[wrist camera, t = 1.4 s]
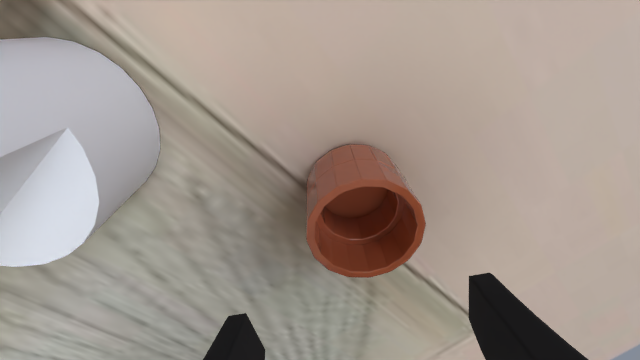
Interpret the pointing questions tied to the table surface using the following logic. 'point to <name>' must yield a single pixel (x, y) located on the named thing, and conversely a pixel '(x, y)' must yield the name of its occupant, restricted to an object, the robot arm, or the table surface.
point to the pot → (361, 213)
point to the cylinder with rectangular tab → (66, 146)
